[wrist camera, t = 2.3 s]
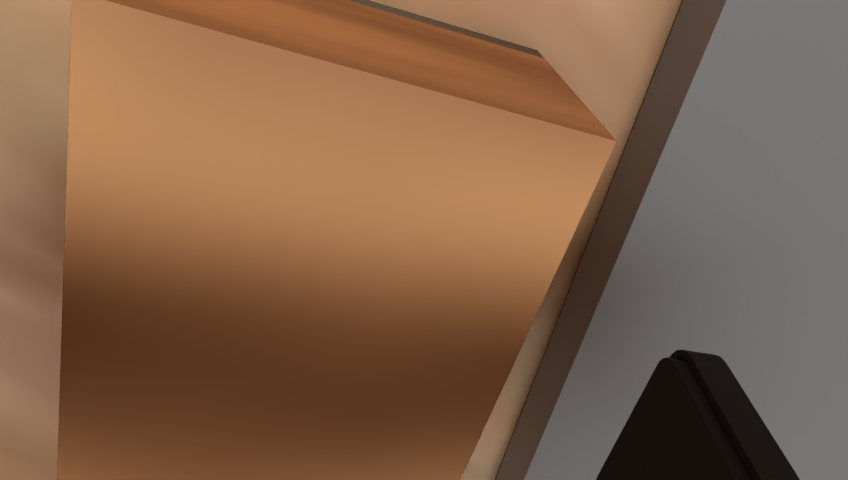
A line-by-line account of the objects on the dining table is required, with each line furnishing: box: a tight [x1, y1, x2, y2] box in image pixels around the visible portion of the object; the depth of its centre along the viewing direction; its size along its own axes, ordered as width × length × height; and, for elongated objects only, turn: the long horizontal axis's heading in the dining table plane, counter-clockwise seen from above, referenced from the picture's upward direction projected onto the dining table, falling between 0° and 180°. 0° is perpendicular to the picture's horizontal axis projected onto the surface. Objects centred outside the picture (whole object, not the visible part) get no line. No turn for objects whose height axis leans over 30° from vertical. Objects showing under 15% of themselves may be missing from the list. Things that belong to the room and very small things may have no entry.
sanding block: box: [57, 0, 617, 480], centre depth 12 cm, size 10×6×5 cm, turn 164°
